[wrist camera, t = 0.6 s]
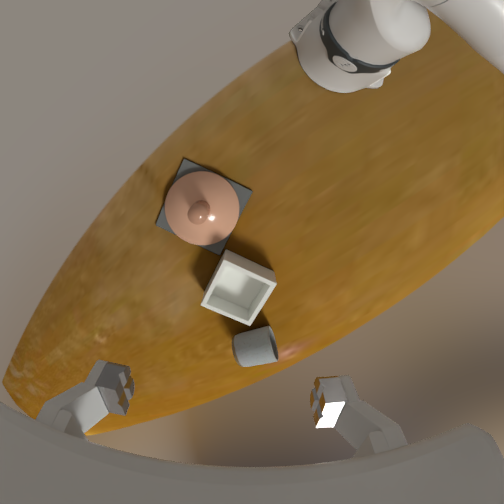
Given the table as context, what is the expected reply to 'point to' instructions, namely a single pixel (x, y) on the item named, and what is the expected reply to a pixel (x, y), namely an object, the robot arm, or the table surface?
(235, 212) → the lid
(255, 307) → the dish
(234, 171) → the table surface
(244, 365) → the ceramic mug
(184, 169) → the mat
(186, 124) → the table surface
